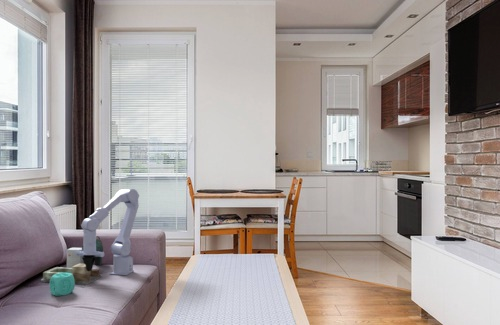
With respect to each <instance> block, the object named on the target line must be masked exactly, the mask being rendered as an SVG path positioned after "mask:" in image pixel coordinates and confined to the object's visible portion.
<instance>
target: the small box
mask: <svg viewBox="0 0 500 325" xmlns="http://www.w3.org/2000/svg"><path fill="white" fill-rule="evenodd" d="M76 251H83V250H82V247H70V248H67V249H66V268H72V267H73V266H75V265H77V264H79V263H80V264H84V263H83V259H82V257H83V256H81V255H77V256H75V252H76Z"/></svg>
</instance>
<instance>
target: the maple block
mask: <svg viewBox="0 0 500 325" xmlns="http://www.w3.org/2000/svg"><path fill="white" fill-rule="evenodd" d="M72 273H76V274H90V271H87V268H86V265H85V264H80V263H79V264H77V265H75V266H73V267H72Z"/></svg>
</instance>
